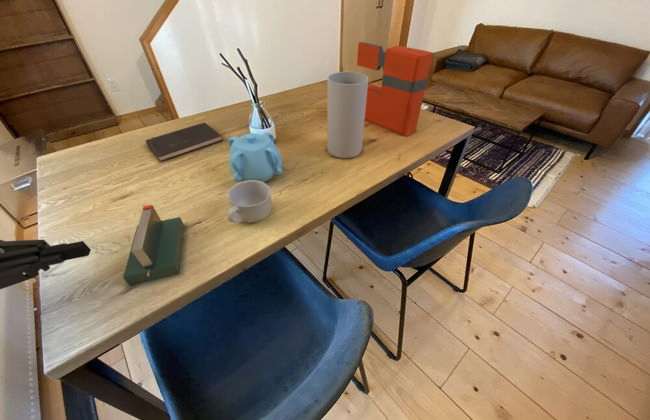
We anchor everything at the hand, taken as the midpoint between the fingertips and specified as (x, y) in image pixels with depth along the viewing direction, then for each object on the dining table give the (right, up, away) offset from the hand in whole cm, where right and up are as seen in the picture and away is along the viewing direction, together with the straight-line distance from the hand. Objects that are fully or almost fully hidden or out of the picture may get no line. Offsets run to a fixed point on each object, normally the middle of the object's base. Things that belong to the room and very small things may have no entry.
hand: (85, 248), depth 53 cm
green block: (+6, -3, +13) cm, 15 cm away
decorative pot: (+24, +19, +37) cm, 49 cm away
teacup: (+26, +5, +22) cm, 34 cm away
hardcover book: (-8, +33, +53) cm, 63 cm away
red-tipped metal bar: (+6, 0, +11) cm, 13 cm away
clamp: (+69, +47, +67) cm, 107 cm away
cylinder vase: (+53, +29, +48) cm, 78 cm away
